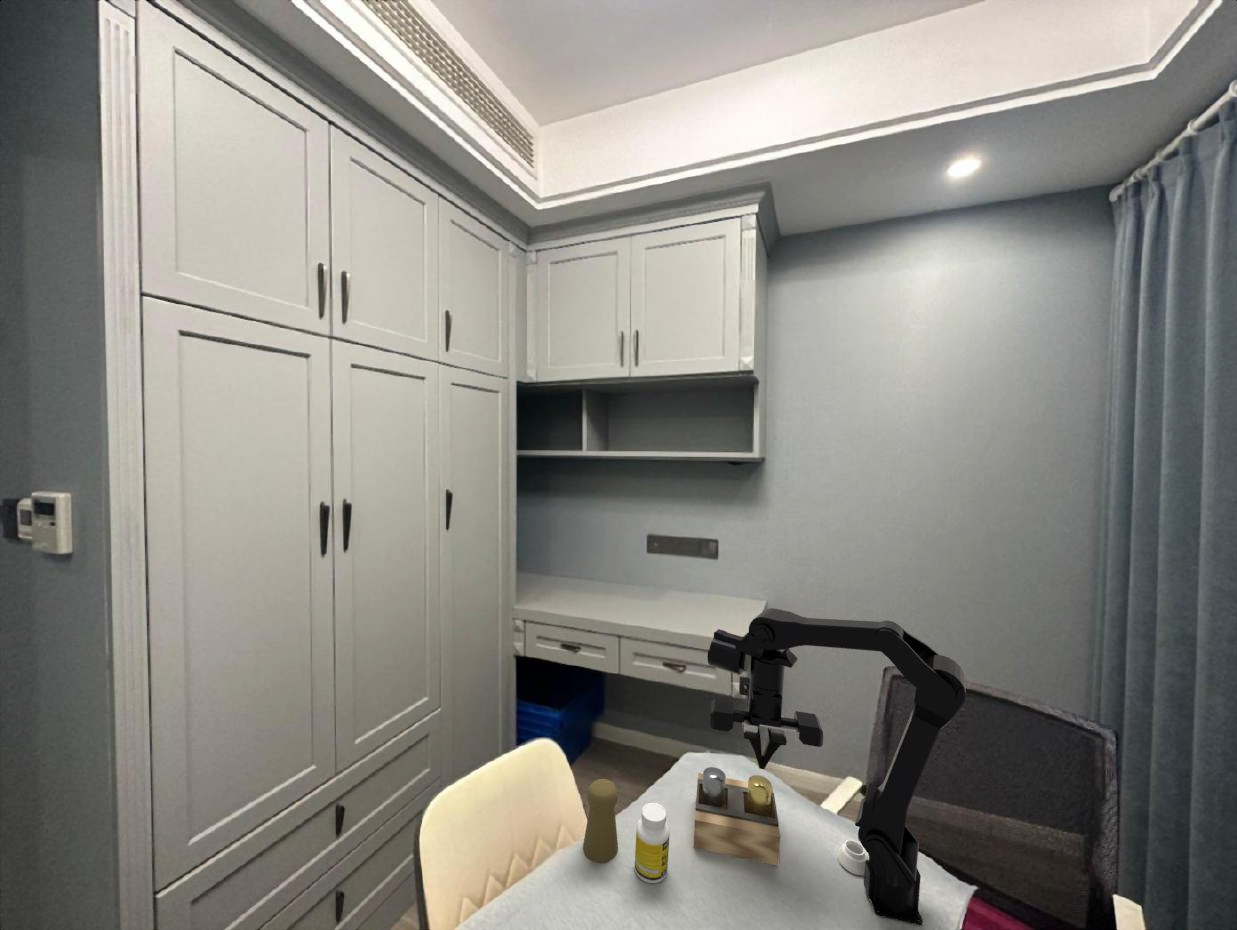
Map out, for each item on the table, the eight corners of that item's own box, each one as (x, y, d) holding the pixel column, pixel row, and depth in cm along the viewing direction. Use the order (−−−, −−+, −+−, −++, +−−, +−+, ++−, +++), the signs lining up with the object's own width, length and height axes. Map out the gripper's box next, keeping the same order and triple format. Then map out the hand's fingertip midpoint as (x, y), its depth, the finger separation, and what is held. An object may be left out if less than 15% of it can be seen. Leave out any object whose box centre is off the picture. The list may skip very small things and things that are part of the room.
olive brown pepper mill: (586, 830, 85) (589, 770, 84) (620, 835, 84) (622, 775, 83) (579, 860, 79) (581, 795, 78) (615, 865, 78) (618, 801, 77)
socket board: (771, 811, 91) (772, 784, 90) (778, 866, 79) (780, 834, 79) (696, 797, 94) (698, 771, 93) (693, 847, 82) (694, 817, 82)
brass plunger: (769, 803, 87) (770, 777, 87) (771, 819, 83) (772, 793, 83) (746, 798, 88) (747, 773, 87) (747, 815, 84) (749, 788, 84)
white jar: (877, 873, 79) (853, 848, 83) (878, 856, 78) (854, 832, 83) (853, 881, 77) (830, 855, 82) (854, 863, 77) (831, 838, 82)
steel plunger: (724, 794, 88) (725, 769, 88) (724, 810, 85) (725, 784, 84) (702, 790, 89) (703, 765, 89) (701, 806, 85) (702, 780, 85)
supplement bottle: (665, 888, 74) (668, 828, 74) (631, 881, 75) (634, 821, 75) (669, 859, 80) (672, 802, 79) (637, 852, 81) (639, 796, 80)
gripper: (814, 669, 90) (809, 749, 91) (713, 655, 94) (709, 732, 95) (826, 699, 79) (820, 790, 80) (712, 683, 83) (707, 769, 84)
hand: (761, 767), depth 85 cm, fingers closed
